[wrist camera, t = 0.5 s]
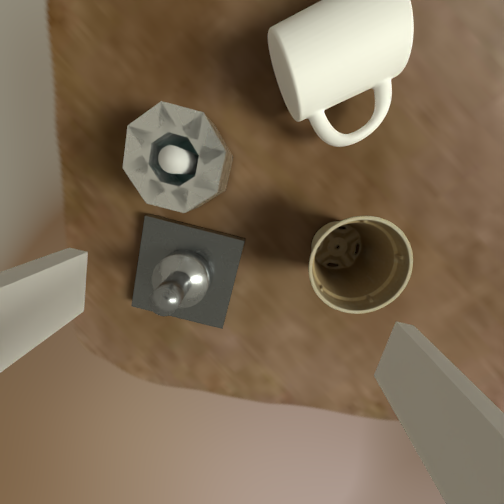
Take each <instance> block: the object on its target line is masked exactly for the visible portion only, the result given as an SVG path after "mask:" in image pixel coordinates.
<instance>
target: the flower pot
mask: <svg viewBox="0 0 504 504" xmlns="http://www.w3.org/2000/svg"><path fill="white" fill-rule="evenodd" d="M340 226H343V227H345V228H346V229H341V230H340V228H338V227H340ZM357 244H359V251H358V253H357V254H355V251H356V245H357ZM336 246H339V248H338V249H337V248H336ZM318 247H319V248H318ZM311 251H312V252H311V255H310V259H309V267H308V269H309V278H310V282H311V285H312V287H313V289H314V291H315V293H316V294H317V295H318V297H319V298H320V299H321V300H322V301H323V302H324V303H326V304H327V305H328V306H330V307H332V308H334V309H336V310H339V311H342V312H346V313H368V312H372V311H375V310H377V309H380V308H382V307H385V306H386V305H388V304H389V303H391V302H392V301H393V300H394V299H395V298H397V297H398V296H399V295H400V294H401V292H402V291H403V290H404V288H405V287H406V285H407V283H408V281H409V279H410V276H411V272H412V267H413V254H412V249H411V246H410V243H409V241H408V239H407V238H406V236H405V235H404V233H403V232H402V231H401V230H400V229H399V228H398V227H397V226H396V225H394V224H393V223H391V222H389V221H387V220H385V219H382V218H378V217H373V216H356V217H351V218H348V219H345V220H342V221H334V222H330V223H328V224H326V225H324V226H323V227H322V228H320V229H319V230H318V231H317V233H316V234H315V236H314V238H313V240H312V245H311ZM328 263H332V264H338V266H328Z"/></svg>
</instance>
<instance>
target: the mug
mask: <svg viewBox="0 0 504 504" xmlns="http://www.w3.org/2000/svg"><path fill="white" fill-rule="evenodd" d="M412 42H413V12H412V6H411V1H410V0H321V1H319V2H317V3H315V4H314V5H312V6H310V7H308V8H306V9H304V10H302V11H300V12H298V13H296V14H295V15H293V16H291V17H289V18H287V19H285V20H283V21H281V22H279V23H278V24H276V25H274V26H272V27H270V29H269V31H268V46H269V52H270V57H271V62H272V66H273V69H274V73H275V76H276V80H277V83H278V86H279V89H280V91H281V94H282V97H283V99H284V102H285V104H286V106H287V108H288V110H289V112H290V114H291V116H292V117H293V118H294V120H296V121H298V122H300V121H302V120H304V119H309V121H310V123H311V125H312V127H313V129H314V131H315V132H316V134H317V135H318V136H319V137H320V138H321V139H322V140H323V141H324V142H325V143H327V144H329V145H332V146H337V147H342V146H348V145H351V144H354V143H356V142H358V141H360V140H362V139H364V138H365V137H367V136H368V135H369V134H371V133H372V132H373V131H374V130H375V129H376V128H377V127H378V126H379V125H380V123H381V122H382V121H383V119H384V117H385V116H386V114H387V112H388V109H389V106H390V102H391V95H392V86H391V79H392V78H394V77H396V76H397V75H399V74H400V73H401V72H402V70H403V69H404V67H405V66H406V64H407V62H408V59H409V56H410V53H411V48H412ZM371 88H372V89H373V90H374V94H375V109H374V113H373V116H372V117H371V119H370V120H369V122H368V123H367V124H366V125H364V126H363V127H362V128H360V129H359V130H357V131H355V132H353V133H350V134H341V133H339V132H338V131H336V130H335V129H334V128H333V127H332V126H331V124H330V123H329V121H328V119H327V117H326V115H325V113H324V111H325V110H326V109H328V108H330V107H332V106H334V105H336V104H338V103H340V102H343V101H345V100H347V99H349V98H351V97H353V96H355V95H358V94H360V93H362V92H364V91H366V90H368V89H371Z"/></svg>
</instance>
